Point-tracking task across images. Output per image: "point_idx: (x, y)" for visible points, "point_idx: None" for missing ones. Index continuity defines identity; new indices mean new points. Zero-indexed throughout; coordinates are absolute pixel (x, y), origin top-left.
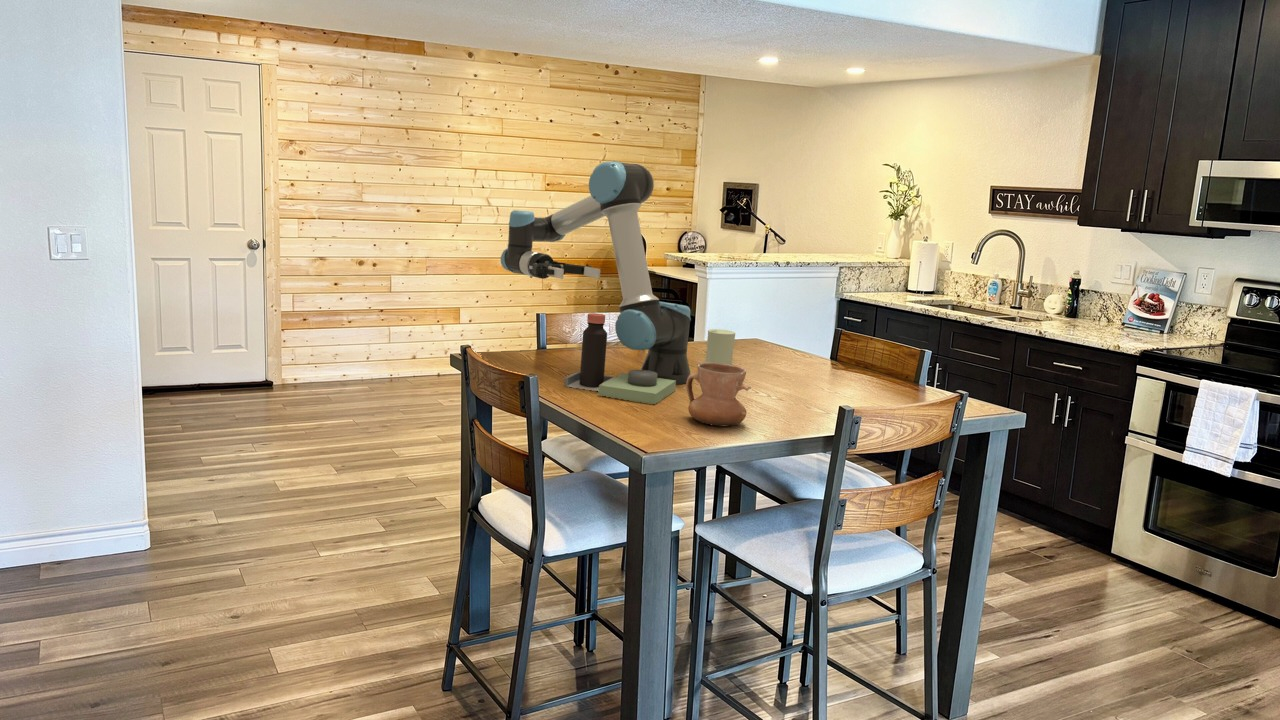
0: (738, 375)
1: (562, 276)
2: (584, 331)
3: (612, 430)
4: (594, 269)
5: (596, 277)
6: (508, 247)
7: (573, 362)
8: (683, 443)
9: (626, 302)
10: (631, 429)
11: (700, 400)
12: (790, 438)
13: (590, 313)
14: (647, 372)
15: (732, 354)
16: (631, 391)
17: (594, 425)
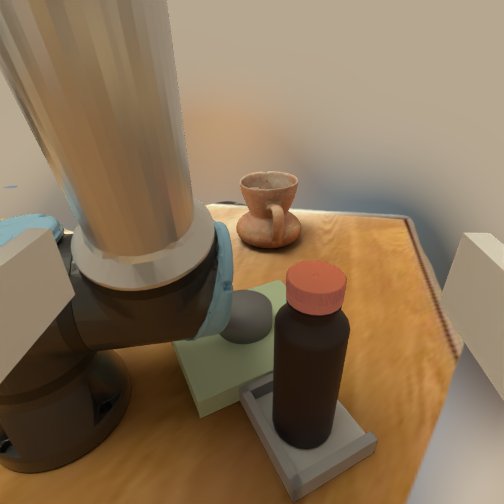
0: (271, 174)
1: (453, 288)
2: (347, 329)
3: (408, 254)
4: (17, 265)
5: (64, 300)
6: None
7: None
8: (354, 221)
9: (209, 225)
10: (383, 250)
11: (291, 219)
12: (247, 207)
13: (325, 291)
14: (233, 305)
15: None
16: None
17: (423, 268)
